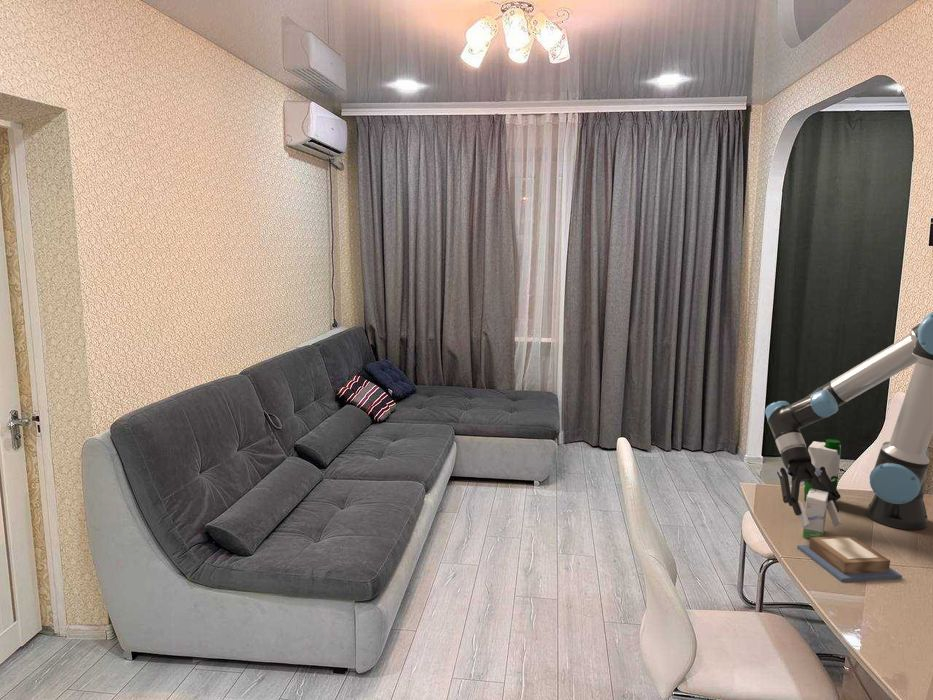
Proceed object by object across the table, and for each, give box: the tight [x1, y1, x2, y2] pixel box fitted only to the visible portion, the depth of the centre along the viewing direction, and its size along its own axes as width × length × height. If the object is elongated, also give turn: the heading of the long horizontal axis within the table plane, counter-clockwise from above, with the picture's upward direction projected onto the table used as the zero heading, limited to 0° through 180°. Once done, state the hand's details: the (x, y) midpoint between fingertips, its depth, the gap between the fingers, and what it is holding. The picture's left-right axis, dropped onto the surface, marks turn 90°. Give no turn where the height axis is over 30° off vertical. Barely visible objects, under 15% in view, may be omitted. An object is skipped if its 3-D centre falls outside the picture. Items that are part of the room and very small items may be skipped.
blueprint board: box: [796, 544, 903, 583], centre depth 176 cm, size 16×18×1 cm
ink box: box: [802, 488, 828, 540], centre depth 192 cm, size 8×5×12 cm, turn 148°
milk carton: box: [803, 438, 842, 502], centre depth 216 cm, size 9×9×20 cm
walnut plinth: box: [808, 535, 891, 574], centre depth 176 cm, size 12×14×3 cm
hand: (822, 525), depth 189 cm, fingers closed on ink box, 9 cm apart
